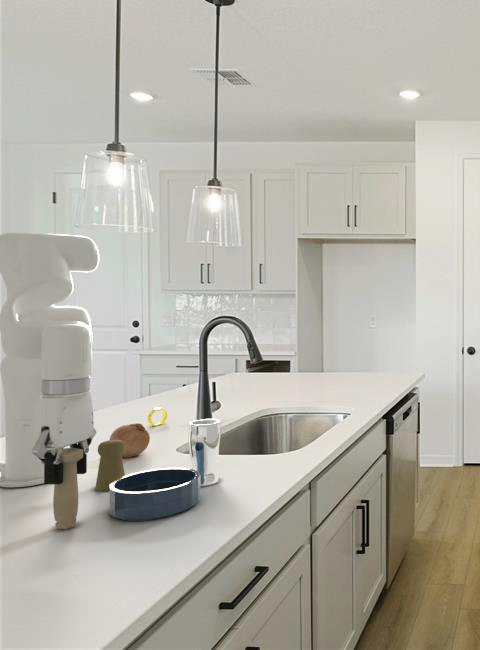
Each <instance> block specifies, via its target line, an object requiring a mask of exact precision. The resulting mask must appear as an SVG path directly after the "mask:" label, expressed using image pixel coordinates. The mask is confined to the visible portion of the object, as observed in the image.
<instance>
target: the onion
mask: <svg viewBox="0 0 480 650" xmlns="http://www.w3.org/2000/svg"><path fill="white" fill-rule="evenodd" d="M109 440H120V441H122V442H123V443H124V451H123V452H122V458H125V459H126V458H133V457H136V456H139V455H141V454H142V453H144V452H145V451H146V449H147V448H148V446H149V444H150V440H151V436H150V433H149V432H148V430H147V429H146V427H144V426H143V424H142V423H140V422H139V423H137V422H136V423H131V424H124V425H121V426H119V427H117V428H115V430H114V431H112V433H111V434H110V437H109Z"/></svg>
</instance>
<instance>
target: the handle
mask: <svg viewBox="0 0 480 650" xmlns="http://www.w3.org/2000/svg"><path fill="white" fill-rule="evenodd" d="M55 451H56V450H53V451H51V453H52V454H53V455H55ZM82 458H83V450H82V449H78V448H70V447H64V449H63V453H62V457H61V461H60V463H63V483H61V484H53V498H52V500H53V501H52V502H53V504H52V505H53V515H54V516H53V517H54V521H55V523H54V526H55V529H56V530H68V529H70V528H74V527H75V526H76V523H77V517H78V511H79V483H78V474H77V461H79V460H80V459H82Z"/></svg>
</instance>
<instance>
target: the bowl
mask: <svg viewBox="0 0 480 650" xmlns="http://www.w3.org/2000/svg"><path fill="white" fill-rule="evenodd" d="M200 479H201V475H200V473H199V472H198V471H196V470H193V469H192V468H185V467H165V468H164V467H163V468H155V469H148V470H143V471H139V472H134V473H130V474H127V475H125V476H124V477H121V478H119V479H117V480H115V481H113V482H112V483H111V484H110V485H109V491H108V492H109V493H108V495H109V497H108V498H109V499H108V506H109V507H108V510H109V511H108V512H109V515H110V516H112V517H113V518H116V519H118V520H121V521H130V522H131V521H132V522H141V521H151V520H157V519H158V520H159V519H163V518H168V517H172V516H176V515H178V514H181V513H184V512H186V511H188V510H189V509H192V507H194V506H195V505H197V504H198V503H199V501H200V500H201V486H200Z"/></svg>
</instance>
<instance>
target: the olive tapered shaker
mask: <svg viewBox="0 0 480 650" xmlns="http://www.w3.org/2000/svg"><path fill="white" fill-rule="evenodd" d="M123 451H124V443H123V442H122V441H120V440H110V439H109V440H105V441H102V442H99V444H98V446H97V453H98V455H99V456H100V458H99V463H98V470H97V476H96V481H95V482H96V483H95V491H99V492H109V485H110V484H111V483H112V482H113V481H115V480H117V479H119V478H121V477H124V476H126V474H125V473H126V472H125V467H124V461H123V457H122V452H123Z"/></svg>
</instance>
